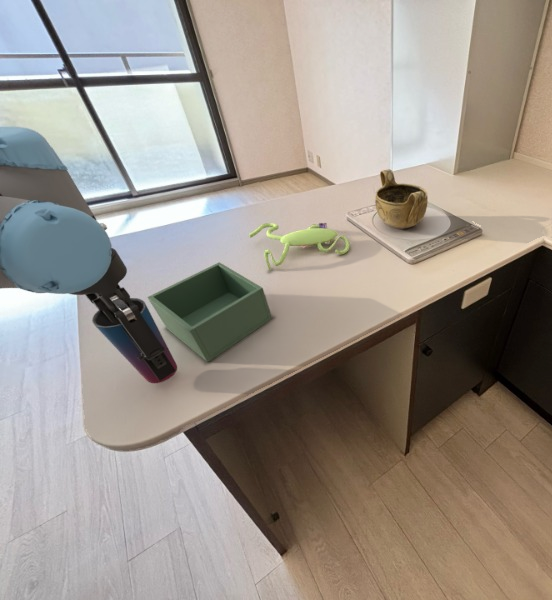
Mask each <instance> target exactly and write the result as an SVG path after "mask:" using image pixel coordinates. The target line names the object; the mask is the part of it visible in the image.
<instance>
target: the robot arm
mask: <svg viewBox="0 0 552 600" xmlns="http://www.w3.org/2000/svg"><path fill="white" fill-rule="evenodd" d="M106 230H108V226H107V225H106V224H105V223H104V222H99V221H98V220H97V218H96V216H95V215H94V213H93V211H92V209H91V208H90V206H89V205H88V203H87V202H86V200H85V198H84V195H82V193H81V191H80V189H79V187H78V186H77V185H76V182H75V181H74V180H73V178H72V176H71V174H70V172H69V171H68V167H67V165H65V164H64V162H63V161H62V160H61V158H60V156H58V154H57V152H56V151H55V149H54V148H53V147H52V145H50V143H49V142H48V140H47V138H45V136H43V135H42V134H41V133H39V132H38V131H36V130H34V129H31V128H28V127H21V126H0V289H19V290H23V291H25V292H31V293H35V294H53V295H54V294H56V295H66V294H68V295H71V296H85V297H86V298H87V299H88V300H89V302H91V304H93V305H94V307H96V309H97V311H98V310H99V311H100V312H101V313H105V315H106V316H107V317H108V318H109V320H110V321H111V322H112V323H114V324H119V325H120V324H122V325H123V327H122V328H123V330H124V331H125V332H126V334H127V335H128V337H129V338H130V340H131V341H132V342H133V343H134V345H135V346H136V347H137V349H138V350H139V351H140V352H141V354H140V355H139V356H137V358H138V359H139V360H140V361H141V360H142V359H144V361H145V362H146V363H147V365H148V366H149V368H150V369H151V370H152V372H153V373H154V374H155V376H156V377H157V378H158V380H160V381H161V380H162V379H164V378H165V377H167V376H169V375H170V374H172V373H173V372H175V371H176V370H175V369H174V367H173V366H172V364H171V363H170V361H169V360H168V358H167V357H166V355H165V354H164V351H165V348H164V347H163V346H162V345H161V343H160V342H159V341H158V339H157V338H156V336H155V335H154V333H153V332H152V330H151V329H150V327H149V326H148V324H147V323H146V321H145V320H144V318H143V317H142V315H141V313H140V311H139V309H138V306H137V305H135V304H133V303H132V301H131V300H130V298H131V295H130V294H129V292H128V290H126V288H125V287H121V286H120V284H119V283H120V282H121V281H122V280H123V279H125V277H126V276H127V274H128V269H127V266H126V265H125V263H124V262H123V259H122V258H121V256H120V255H119V253H118V252H117V250H116V249H115V248H113V245H112V242H111V239H110V236H109V234H108V233H107V231H106ZM176 372H177V371H176ZM176 372H175V373H176Z"/></svg>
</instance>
